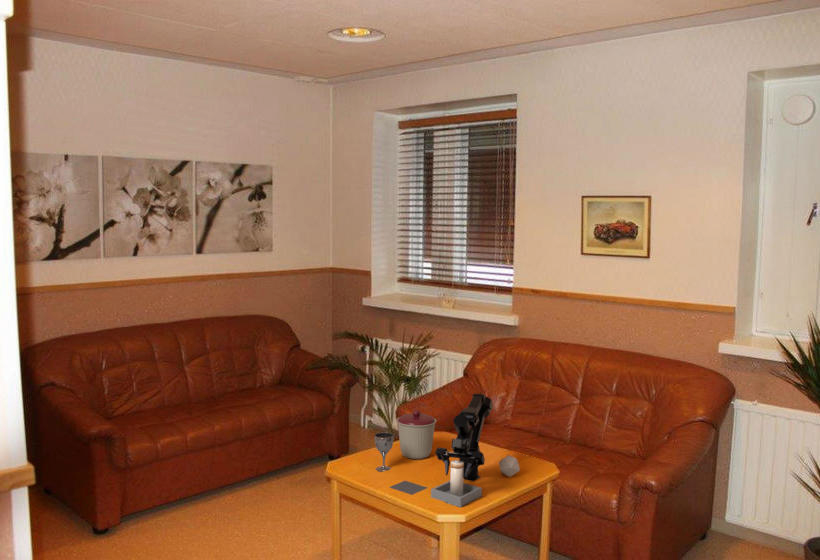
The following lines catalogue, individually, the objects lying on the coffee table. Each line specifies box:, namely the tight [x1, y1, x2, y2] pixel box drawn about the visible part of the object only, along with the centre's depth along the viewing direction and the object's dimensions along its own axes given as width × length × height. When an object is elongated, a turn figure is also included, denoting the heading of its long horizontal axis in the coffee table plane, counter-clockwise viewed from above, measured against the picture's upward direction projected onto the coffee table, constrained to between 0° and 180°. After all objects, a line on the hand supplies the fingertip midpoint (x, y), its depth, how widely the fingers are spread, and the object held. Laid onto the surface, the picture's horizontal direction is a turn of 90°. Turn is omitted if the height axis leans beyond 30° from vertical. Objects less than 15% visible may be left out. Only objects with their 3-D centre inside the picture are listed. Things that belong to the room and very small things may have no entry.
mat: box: [388, 480, 428, 496], centre depth 292 cm, size 10×12×1 cm
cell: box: [449, 459, 464, 497], centre depth 283 cm, size 5×5×14 cm
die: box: [498, 454, 521, 477], centre depth 309 cm, size 8×9×10 cm
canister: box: [395, 409, 437, 460], centre depth 331 cm, size 18×18×21 cm
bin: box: [430, 480, 483, 508], centre depth 283 cm, size 14×14×4 cm
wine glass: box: [374, 431, 394, 473], centre depth 313 cm, size 8×8×15 cm
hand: (455, 476), depth 281 cm, fingers open, 7 cm apart
